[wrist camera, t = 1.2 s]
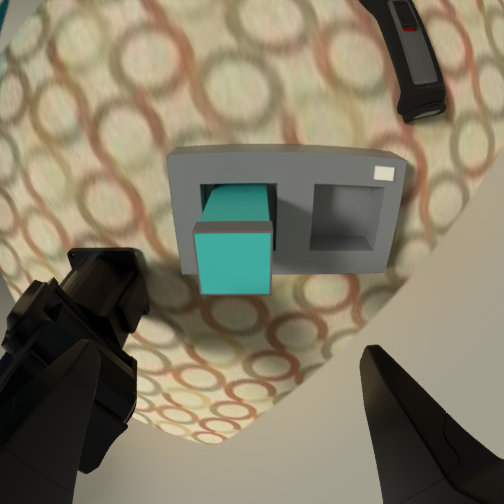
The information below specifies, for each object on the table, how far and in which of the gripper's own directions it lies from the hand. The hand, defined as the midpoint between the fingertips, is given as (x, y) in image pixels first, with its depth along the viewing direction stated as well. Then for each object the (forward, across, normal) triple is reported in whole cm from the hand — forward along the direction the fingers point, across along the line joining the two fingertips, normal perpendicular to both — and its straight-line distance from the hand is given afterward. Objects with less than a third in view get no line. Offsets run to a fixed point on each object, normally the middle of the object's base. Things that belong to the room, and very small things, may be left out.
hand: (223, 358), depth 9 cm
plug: (+12, 0, 0) cm, 12 cm away
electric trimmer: (+13, -9, -14) cm, 21 cm away
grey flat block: (+13, -3, 0) cm, 13 cm away
